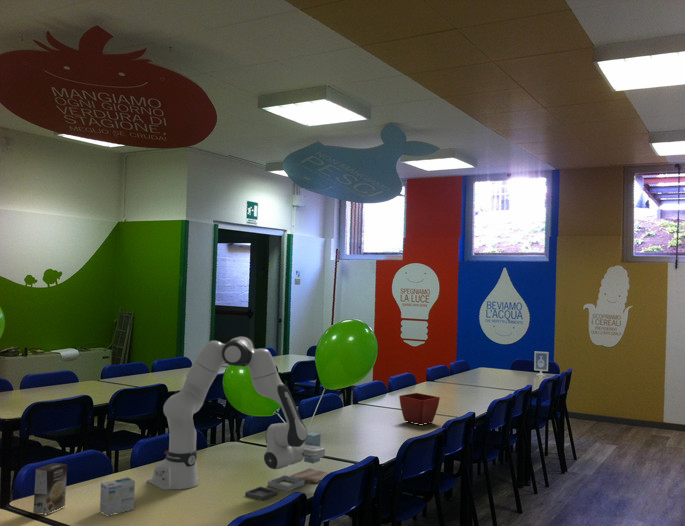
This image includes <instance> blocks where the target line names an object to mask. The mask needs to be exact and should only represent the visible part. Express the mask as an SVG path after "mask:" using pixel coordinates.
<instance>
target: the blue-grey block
mask: <svg viewBox="0 0 685 526" xmlns="http://www.w3.org/2000/svg"><path fill="white" fill-rule="evenodd" d="M304 443H305V444H308V445H313V446H317V445H320V446H321V433H318V432H313V431H311V432H307V438H306V440H305V442H304ZM320 461H321V458H316V459H311V458H306V457H304V458H303V462H304V463H309V464H316V463H319V462H320Z"/></svg>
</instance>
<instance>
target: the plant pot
mask: <svg viewBox="0 0 685 526" xmlns="http://www.w3.org/2000/svg"><path fill="white" fill-rule="evenodd" d="M398 398H399V406H400V410H401V413H402V417H403V420H404V422H405V421H408V422H413V423H418V424H424V423H429V422H432V423H433V422H434V420H435V417H436V414H437V410H438V407H439V403H440V399H441V397H440V396H435V395H429V394H424V393H419V392H414V393H408V394H407V393H406V394H402V395H399V397H398Z"/></svg>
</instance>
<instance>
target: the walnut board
mask: <svg viewBox="0 0 685 526" xmlns="http://www.w3.org/2000/svg"><path fill="white" fill-rule="evenodd" d="M329 473H330V472H327V471H322V470H319V469H313V468H310V467H309V468H306V469H305V470H302V471H299V472H295V473H294V474H291V475H290V476H291V477H295V478H299V479H303V480H304V483H305V482H306V483H308V484H309V483H310V484H313V485H319V484H320V483H321V482H320V481H321V479H322V478H323V477H324V476H325V475H327V474H329ZM319 482H320V483H319Z"/></svg>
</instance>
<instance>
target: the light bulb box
mask: <svg viewBox="0 0 685 526" xmlns="http://www.w3.org/2000/svg"><path fill="white" fill-rule="evenodd" d="M135 490H136V481H135V480H134V479H131V478H130V477H128V476H126V477H122V478H117V479H114V480H109V481H104V482H100V500H99V502H100V503H99V512H100V511H101V512H103V513H104V514H106V515H111V514H114V513H119V512H123V511H127V512H129V511H128V510H131V511H133V510H132V509H134V510H135V496H136V495H135V494H136V493H135V492H136V491H135ZM101 512H100V513H101ZM103 513H102V514H103ZM123 513H124V512H123ZM104 514H103V515H104ZM119 514H120V513H119ZM111 516H112V515H111Z"/></svg>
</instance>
